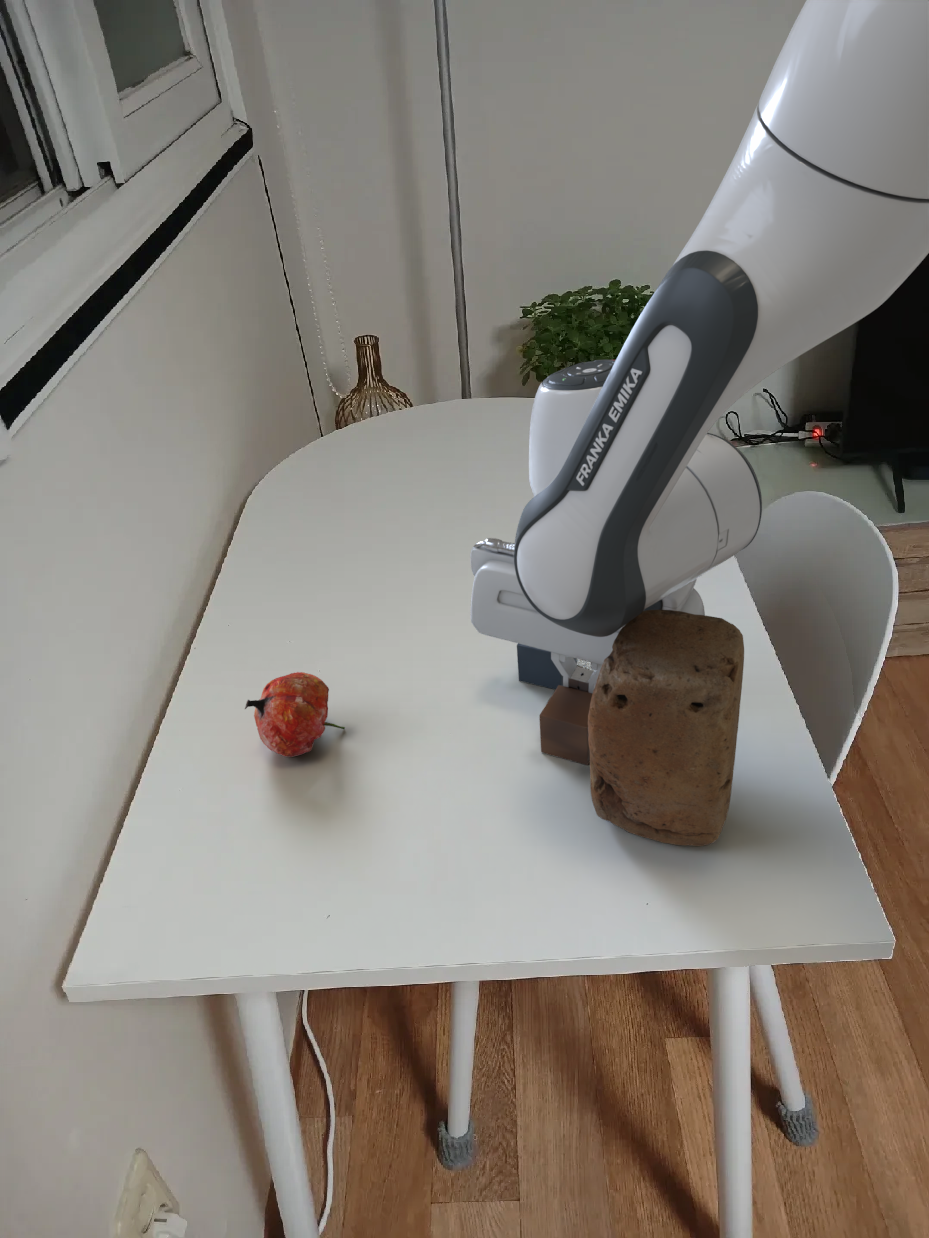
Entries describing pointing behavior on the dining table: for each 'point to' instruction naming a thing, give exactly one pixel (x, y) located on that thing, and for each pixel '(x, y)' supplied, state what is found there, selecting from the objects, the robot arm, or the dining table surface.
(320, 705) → the pomegranate
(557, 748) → the walnut cube
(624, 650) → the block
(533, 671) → the slate cube
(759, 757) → the dining table surface
